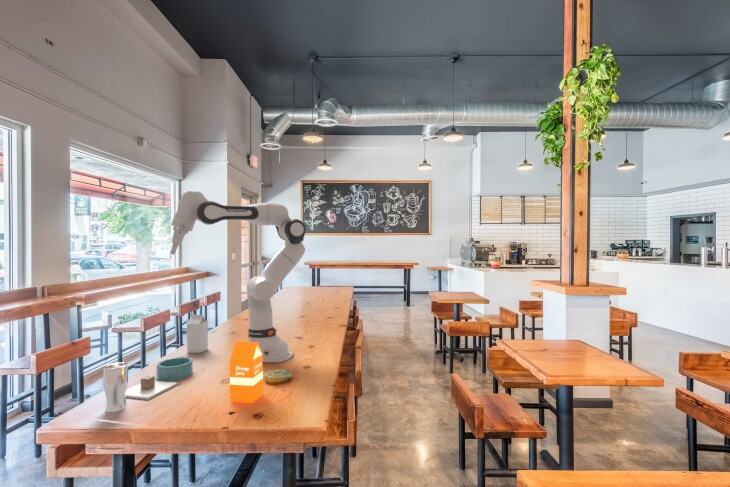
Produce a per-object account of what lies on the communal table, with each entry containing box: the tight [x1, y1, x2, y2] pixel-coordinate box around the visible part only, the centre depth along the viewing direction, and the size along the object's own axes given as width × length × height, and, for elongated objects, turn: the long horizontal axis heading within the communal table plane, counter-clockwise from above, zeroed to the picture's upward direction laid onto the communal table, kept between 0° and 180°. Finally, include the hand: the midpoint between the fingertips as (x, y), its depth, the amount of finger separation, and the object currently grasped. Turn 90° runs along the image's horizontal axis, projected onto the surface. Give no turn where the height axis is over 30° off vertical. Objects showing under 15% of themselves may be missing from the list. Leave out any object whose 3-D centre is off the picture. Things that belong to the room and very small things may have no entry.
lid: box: [126, 375, 178, 400], centre depth 138 cm, size 14×14×5 cm
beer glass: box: [102, 361, 129, 413], centre depth 123 cm, size 7×7×15 cm
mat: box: [126, 383, 182, 402], centre depth 138 cm, size 16×16×1 cm
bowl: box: [156, 357, 194, 382], centre depth 154 cm, size 13×13×6 cm
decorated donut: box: [263, 368, 293, 385], centre depth 148 cm, size 10×11×4 cm
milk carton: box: [186, 314, 209, 354], centre depth 190 cm, size 7×7×19 cm
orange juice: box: [229, 341, 264, 404], centre depth 131 cm, size 8×9×20 cm
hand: (172, 254), depth 162 cm, fingers open, 8 cm apart
